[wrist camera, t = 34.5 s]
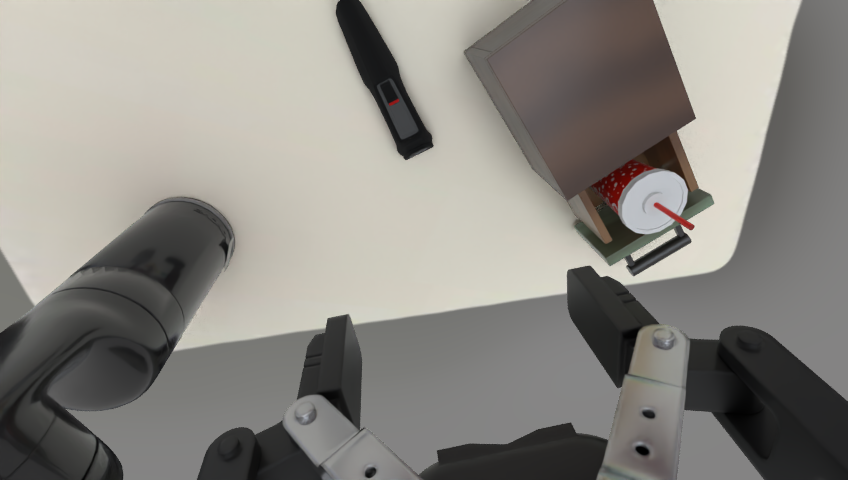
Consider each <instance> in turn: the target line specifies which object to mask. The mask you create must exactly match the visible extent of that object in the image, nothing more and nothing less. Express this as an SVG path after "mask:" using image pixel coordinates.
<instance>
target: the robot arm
mask: <svg viewBox="0 0 848 480" xmlns="http://www.w3.org/2000/svg"><path fill="white" fill-rule="evenodd" d="M234 244H235V242H234V235H233V232H232V229H231V227H230V225H229V223H228V222H227V220H226V219H225V218H224V217H223V216H222V215H221V214H220V213H219V212H218V211H217V210H216V209H214V208H213V207H211V206H210V205H208V204H206V203H204V202H201V201H198V200H195V199H191V198H183V197H176V198H169V199H165V200H163V201H160V202H158V203H156V204H155V205H154V206H152V207H151V208H150V209H149V210H148V211H147V212H146V213H145V214H144V215H143V216H142V217H141V218H140V219H138V220H137V221H136V222H135V223H133V224H132V225H131V226H130V227H129V228H127V229H126V230H125V231H124V232H123V233H121V234H120V235H119V236H118V237H117V238H115V239H114V240H113V241H112V242H111V243H109V244H108V245H107V246H106V247H105V248H103V249H102V250H101V251H100V252H99V253H98V254H96V255H95V256H94V257H93V258H92V259H90V260H89V261H88V262H87V263H86V264H84V265H83V266H82V267H81V268H80V269H78V270H77V271H76V272H75V273H74V274H72V275H71V276H70V277H69V278H68V279H67V280H66V281H64V282H63V283H62V284H61V285H60V286H58V287H57V288H56V289H55V290H54V291H52V292H51V293H50V294H49V295H48V296H47V297H45V298H44V299H43V300H42V301H41V302H39V303H38V304H37V305H36V306H35V307H34V308H32V309H31V310H30V311H29V312H28V313H26V314H25V315H24V316H22V317H21V318H20V319H19V320H17V321H16V322H15V323H13V324H12V325H11V326H9V327H8V328H7V329H5V330H4V331H3V332H1V333H0V480H123V470H122V465H121V463H120V461H119V459H118V458H117V456H116V455H115V454H114V453H113V451H112V450H111V449H110V448H109V447H108V446H107V445H106V444H105V443H103V441H101V440H100V439H99V438H98V437H96V435H94V434H93V433H92V432H91V431H90V430H89V429H88V428H87V427H85V426H84V425H83V424H82V423H81V422H80V421H78V420H77V419H76V418H75V417H74V416H73V415H71V414H70V413H69V412H68V411H67V410H66V409H70V410H77V411H103V410H109V409H114V408H118V407H120V406H123V405H126V404H128V403H130V402H132V401H134V400H136V399H137V398H139V397H140V396H141V395H142V394H143V393H144V392H146V391H147V390H148V389H149V387H150V386H151V385H152V383H153V382H154V380H155V379H156V378H157V376H158V374H159V373H160V371H161V369H162V368H163V366H164V364H165V362H166V361H167V359H168V358H169V356H170V354H171V353H172V351H173V349H174V348H175V346H176V345H177V343H178V341H179V340H180V338H181V336H182V334H183V333H184V331H185V329H186V328H187V326H188V325H189V323H190V321H191V320H192V318H193V316H194V315H195V313H196V312H197V310H198V308H199V307H200V305H201V303H202V302H203V300H204V299H205V297H206V295H207V294H208V292H209V290H210V289H211V287H212V286H213V284H214V282H215V281H216V279H217V277H218V276H219V274H220V273H221V271H222V269H223V268H224V267H225V270H226V269H227V267H228V264H229V260H230V258H231V256H232V254H233V251H234ZM224 272H225V271H224ZM567 300H568V310H569V313H570V317H571V319H572V321H573V323H574V324H575V325H576V327H577V328H578V330H579V332H580V333H581V335H582V336H583V338H584V339H585V340H586V342H587V343H588V345H589V346H590V348H591V349H592V351H593V352H594V354H595V355H596V357H597V358H598V360H599V361H600V363H601V364H602V366H603V367H604V369H605V370H606V372H607V373H608V375H609V376H610V378H611V379H612V381H613V382H614V384H615V385H616V387H617V388H620V387H622V388H621V392H620V396H619V400H618V404H617V408H616V412H615V416H614V420H613V424H612V428H611V432H610V436H609V440H606V439H603V438H600V437H597V436H593V435H588V434H582V433H576V432H575V430H574V428H573V426H572V424H571V423H566V424H561V425H556V426H552V427H547V428H542V429H538V430H536V431H534V432H532V433H530V434H527V435H525V436H523V437H521V438H519V439H517V440H515V441H513V442H511V443H509V444H501V445H500V444H466V445H461V446H456V447H452V448H447V449H442V450H438V451H437V454H438V461H439V462H437V463H435V464H433V465H431V466H430V467H428V468H427V469H425V470H424V471H423V472H422V473H421V474H419V475H418V474H417V473H415V472H414V471H413V470H412V469H411V468H410V467H409V466H408V465H407V464H406V463H405V462H404V461H402V460H401V459H400V458H399V457H398V456H397V455H396V454H395V453H393V451H392V450H391V449H389V448H388V447H387V446H386V445H385V444H384V443H383V442H382V441H381V440H380V439H378V437H376V436H375V435H374V434H373V433H372V432H371V431H370V430H368V429H367V428H363V429H361V430H360V410H361V377H362V357H361V351H360V347H359V344H358V340H357V337H356V334H355V331H354V328H353V324H352V321H351V318H350V316H349V314H346V315H341V316H336V317H331V318H328V319H327V325H326V332H325V333H323V334H319V335H315V336H314V338H313V339H312V341H311V342H310V344H309V345H308V348H307V353H306V359H305V362H304V368H303V372H302V378H301V382H300V388H299V392H298V397H297V400H296V401H295V402H294V403H293V404H291V405H290V406H289V407H288V409H287V410H286V412H285V413H284V416H283V420H282V421H281V422H280V423H278V424H277V425H274V426H273V427H270V428H269V429H266V430H264V431H262V432H260V433H258V434H256V435H254V433H253V431H252V430H250V429H248V428H244V427H241V428H240V427H239V428H235V429H231V430H229V431H227V432H225V433H223V434H222V435H221V436H219V437H218V438H217V439H216V440H215V441H214V442H213V443H212V444H211V445H210V446H209V448H208V450H207V452H206V454H205V457H204V460H203V463H202V466H201V469H200V472H199V475H198V478H197V480H677V473H678V464H679V455H680V444H681V434H682V425H683V416H684V410H693V411H708V412H712V413H713V415H714V416H715V417H716V419H717V420H718V421H719V422H720V424H721V425H722V426H723V428H725V430H726V431H727V433H728V434H729V435H730V437H731V438H732V439H733V440H734V442H735V443H736V444H737V445H738V447H739V448H740V449H741V451H742V452H743V453H744V454H745V456H746V457H747V458H748V460H750V462H751V463H752V464H753V466H754V467H755V468H756V470H757V471H758V472H759V474H760V475H761V476H762V477H763V479H764V480H848V401H846V400H845V399H844V398H843V397H842V396H841V395H840V394H838V393H837V392H836V391H835V390H834V389H832V388H831V387H830V386H829V385H828V384H827V383H826V382H824V381H823V380H822V379H821V378H820V377H818V375H816V374H815V373H814V372H813V371H812V370H811V369H809V368H808V367H807V366H806V365H805V364H804V363H802V362H801V361H800V360H799V359H798V358H797V357H795V356H794V355H793V354H792V353H791V352H789V350H787V349H786V348H785V347H784V346H782V344H780V343H779V342H778V341H777V340H776V339H775V338H773V337H772V336H771V335H769V334H768V333H766V332H764V331H762V330H759V329H756V328H753V327H748V326H731V327H728V328H725V329H724V330H723V331H722V332H721V334H720V339H719V340H704V339H702V340H701V339H689V338H688V337H687V335H686V334H685V333H683V332H682V331H681V330H679V329H677V328H675V327H672V326H669V325H664V324H659V323H658V322H657V321H656V319H654V317H653V316H652V315H651V314H650V313H649V312H648V311H647V310H646V309H645V308H644V307H643V306H642V305H641V304H640V303H639V302H638V301H636V299H635V297H634V296H633V295H632V294H631V293H629V291H628V290H627V289H626V288H625V287H624V286H623V285H622V284H621V283H620V282H618V281H616V280H614V279H612V278H610V277H608V276H605V277H600V276H599V275H598V274H597V273H596V272H595V270H594V269H593V268H592V267H591V266H585V267H580V268H575V269H570V270H568V272H567Z"/></svg>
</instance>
